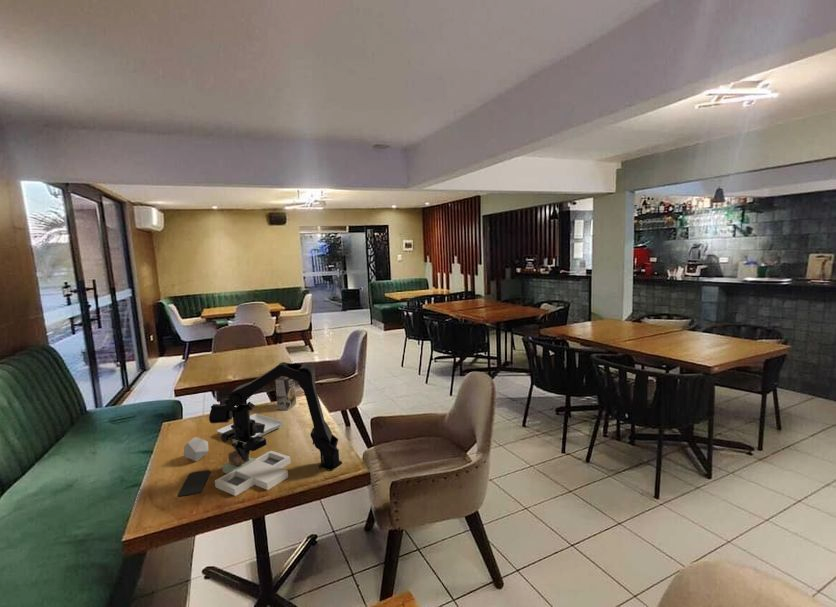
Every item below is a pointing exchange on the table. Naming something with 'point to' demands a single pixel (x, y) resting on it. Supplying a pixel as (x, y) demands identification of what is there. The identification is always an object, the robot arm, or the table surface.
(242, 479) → the box
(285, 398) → the coffee box
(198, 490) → the phone
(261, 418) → the salad plate
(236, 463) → the walnut block
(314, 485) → the table surface
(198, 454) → the die
